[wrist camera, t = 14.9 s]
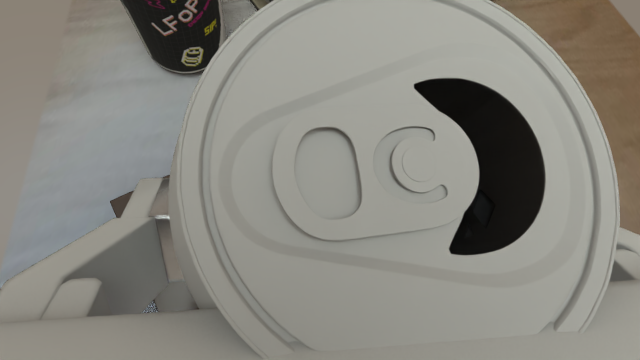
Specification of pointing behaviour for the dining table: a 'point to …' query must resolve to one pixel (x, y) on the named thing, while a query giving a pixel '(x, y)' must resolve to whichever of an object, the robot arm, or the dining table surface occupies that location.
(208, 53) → the beverage can
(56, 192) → the dining table surface
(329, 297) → the beverage can
